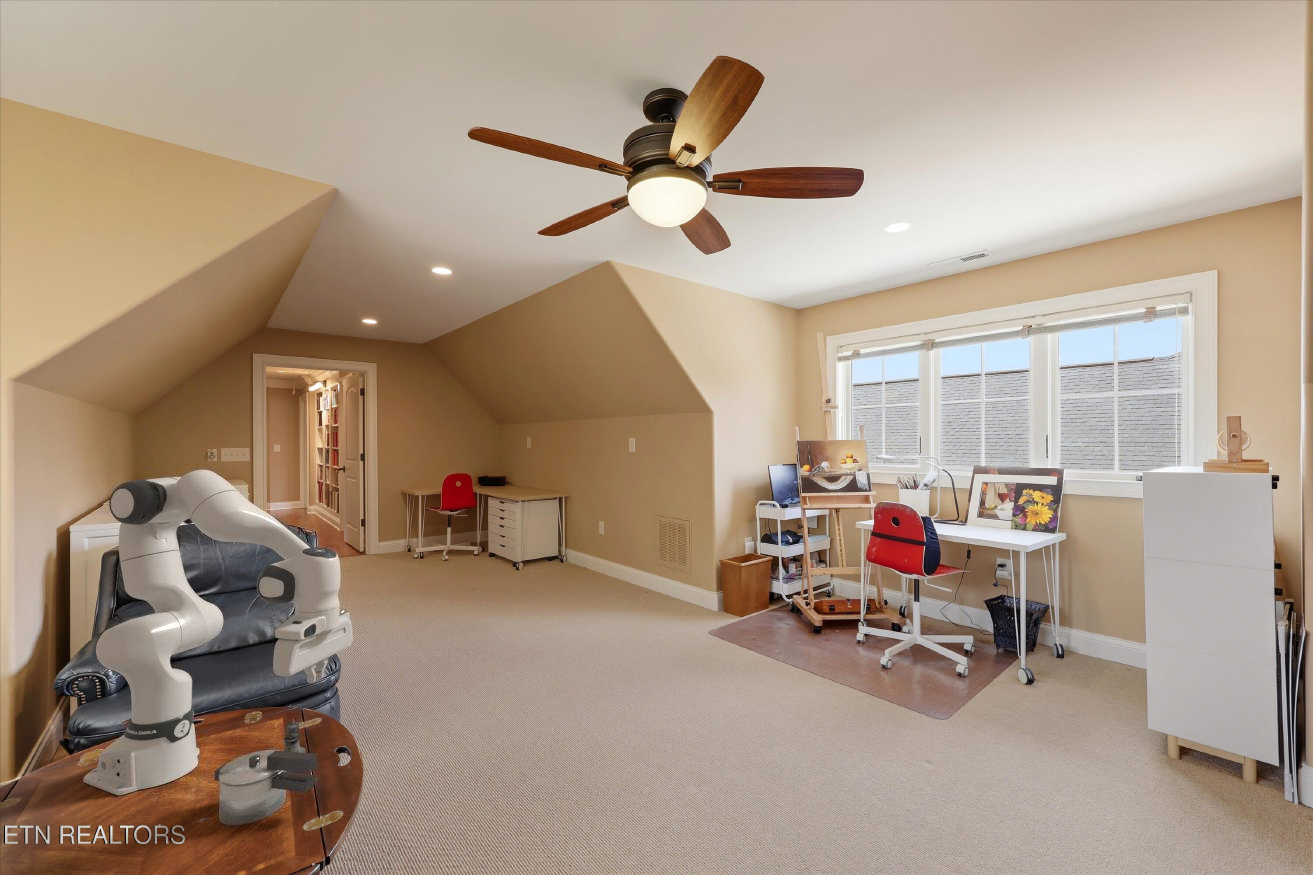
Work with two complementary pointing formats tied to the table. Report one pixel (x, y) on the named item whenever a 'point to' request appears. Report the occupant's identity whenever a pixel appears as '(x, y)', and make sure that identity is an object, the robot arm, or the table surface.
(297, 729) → the grey round vessel
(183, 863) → the table surface
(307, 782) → the pot
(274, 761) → the lid
